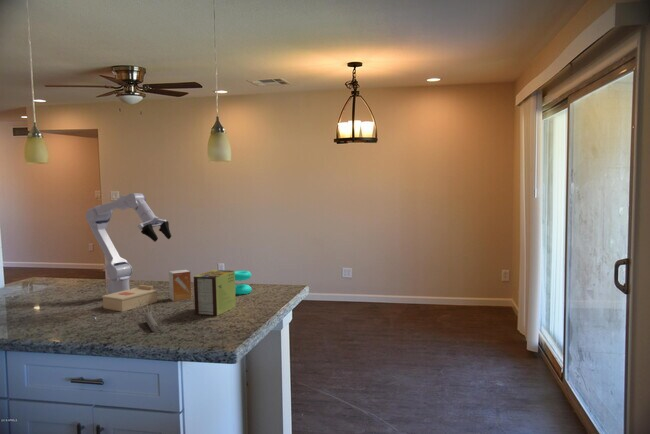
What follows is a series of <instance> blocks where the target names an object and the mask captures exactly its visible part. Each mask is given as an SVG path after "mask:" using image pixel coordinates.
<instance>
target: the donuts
mask: <svg viewBox="0 0 650 434" xmlns="http://www.w3.org/2000/svg"><path fill="white" fill-rule="evenodd" d="M234 271H235V282H236V281H239V282H240V281H242V282H243V281H246V280H249V279H250V278H251V277H252V273H251V271H249V270H234ZM252 291H253V289H252V287H251V286H250V285H249V284H246V283H245V284H235V296H241V295H242V294H244V295H248V294H250V293H252Z"/></svg>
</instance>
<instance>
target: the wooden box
mask: <svg viewBox="0 0 650 434" xmlns="http://www.w3.org/2000/svg"><path fill="white" fill-rule="evenodd" d="M157 292H158V291H157ZM157 292H153V293H149V294H145V295H141V296H137V297H133V298H129V299H125V300H116V299H110V298H103V297H102V307H103V309H106V310H111V311H118V312H126V311H128V310H132V309H135V308H136V307H137V306H138V307H137V308H141V307H142V306H143V305H144V306H147V305H150V304H151V305H152V304H154V303H157V302H158V294H157ZM144 299H145V300H144ZM139 301H140V302H139ZM146 302H149V303H146ZM140 303H141V306H140ZM143 303H144V304H143ZM134 304H135V306H134ZM144 306H143V307H144ZM137 308H136V309H137Z"/></svg>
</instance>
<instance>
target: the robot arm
mask: <svg viewBox="0 0 650 434" xmlns="http://www.w3.org/2000/svg"><path fill="white" fill-rule="evenodd" d="M146 201H147V198H146V195H145V194H144V193H141V192H136V193H134V192H133V193H128V195H124V194H123V195H120V197H118V198H117V199H116V201H112V202H108V203H103V204H99V205H96V206H94V207H92V208H88V209H87V211H86V214H85V220H86V221H87V224H88V225H89V227H90V229H91V232H92V235H93V236H94V238H95V240H96V242H97V244H98V245H99V248H100V249H101V251H102V252H103V253H102V254H103V255H104V256H105V258H106V260H107V262H108V263H107V264H106V266H105V270H106V272H107V276H108V278H109V279H110V280H108V282H107V295H108V294H112V293H116V292H120V291H125V290H129V289H130V279H131V276H132V274H133V272H134V271H133V267H132V265H131V264H130V263H129V262H128V260H127V259H126V258H123V257H121V256H120V254H119V252H118V250H117V249H116V247H115V245H114V243H113V242H112V240H111V238H110V236H109V234H108V232H107V230H106V228H107V227H108V226H109V223H110V221H111V219H112V215H113V211H114V210H118V209H119V210H121V211H124V210H128V209H131V208H132V210H135V213H137V215H138V217H139V219H140V220H141V221H142V222H141V223H139V224H138V225H137V228H138V230H140V233H141V234H142V235H145V236H146V237H148V238H149V239H150V240H152V241H153V242H155V243H156V242H157V241H158V239H159V238H158V236H157V234H156V232H155V230H154V228H155V227H159V229H158V231H159V232H161V233H162V235H164V237H165V238H166V239H167V240H170V239H171V237H172V233H171V230H170V224H169V221H168V220H167V219H161V218H159V216H156V214H155V213H154V212H153V210H152V209H151V208H150V206H149V205H148V203H147V202H146Z"/></svg>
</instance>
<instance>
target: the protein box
mask: <svg viewBox="0 0 650 434" xmlns="http://www.w3.org/2000/svg"><path fill="white" fill-rule="evenodd" d="M235 271H236V270H230V269H229V270H225V269H224V270H223V269H212V270H209V271H205V272H202V273H199V274H196V275H194V276H193V293H194V314H195V315H201V316H203V315H204V316H213V317H214V316H216V317H217V316H219V315H222V314H224V313H225V312H228V311H230V310H232V309H235V308H236V306H237V305H236V304H237V303H236V298H237V297H236V295H235V285H236V280H235Z"/></svg>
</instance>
